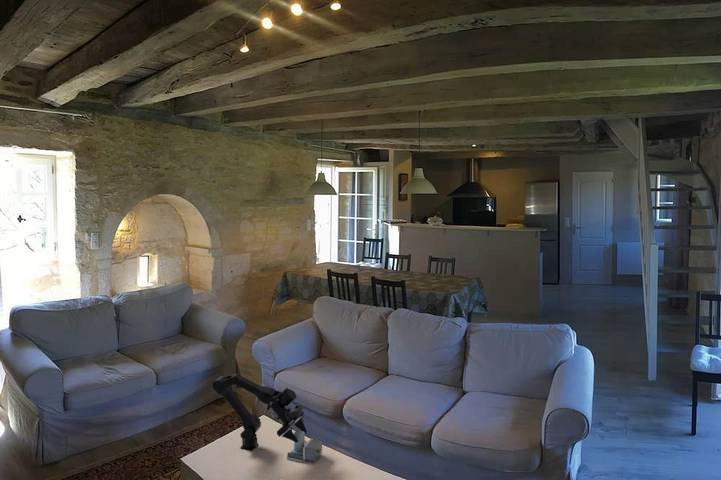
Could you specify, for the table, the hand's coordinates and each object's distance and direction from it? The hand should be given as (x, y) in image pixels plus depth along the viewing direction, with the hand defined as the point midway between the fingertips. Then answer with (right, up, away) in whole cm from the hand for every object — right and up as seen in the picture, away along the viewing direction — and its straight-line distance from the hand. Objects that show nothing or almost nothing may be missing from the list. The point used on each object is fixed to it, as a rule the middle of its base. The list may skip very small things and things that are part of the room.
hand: (301, 437), depth 233 cm
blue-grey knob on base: (-1, -8, +1) cm, 8 cm away
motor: (+2, -9, 0) cm, 9 cm away
